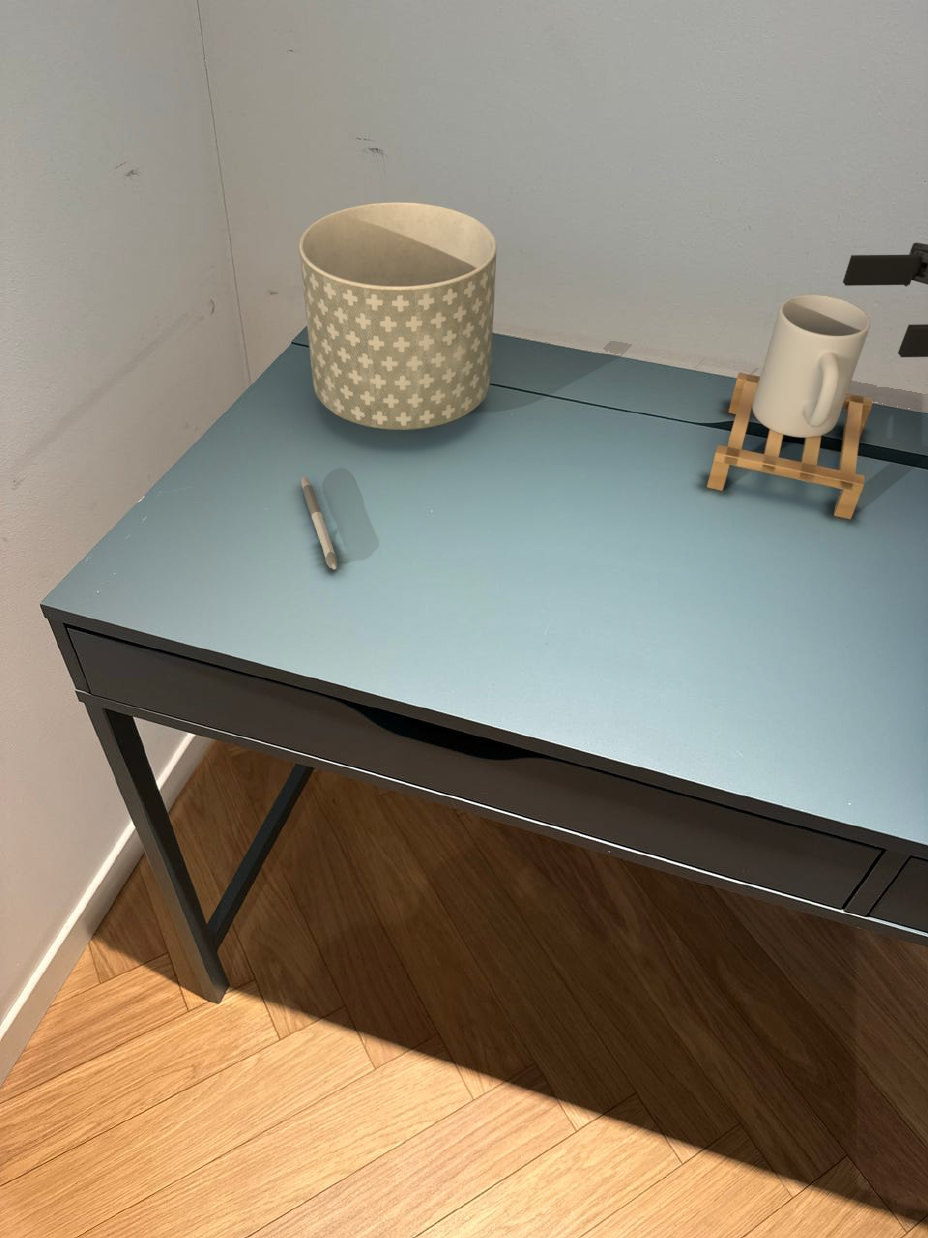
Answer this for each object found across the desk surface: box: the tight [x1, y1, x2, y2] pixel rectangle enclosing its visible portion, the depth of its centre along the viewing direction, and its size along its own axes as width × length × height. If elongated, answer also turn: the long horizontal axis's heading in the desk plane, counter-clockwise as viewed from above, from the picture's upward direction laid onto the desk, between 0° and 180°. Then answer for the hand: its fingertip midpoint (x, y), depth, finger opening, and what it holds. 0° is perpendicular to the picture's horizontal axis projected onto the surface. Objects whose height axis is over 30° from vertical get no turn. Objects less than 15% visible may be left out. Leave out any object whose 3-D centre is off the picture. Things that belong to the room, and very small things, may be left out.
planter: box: [298, 201, 498, 431], centre depth 99 cm, size 19×19×18 cm
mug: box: [752, 294, 871, 439], centre depth 93 cm, size 12×8×11 cm
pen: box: [300, 476, 338, 570], centre depth 90 cm, size 1×14×1 cm, turn 18°
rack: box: [706, 372, 874, 520], centre depth 99 cm, size 16×14×4 cm
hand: (874, 303), depth 88 cm, fingers open, 13 cm apart
